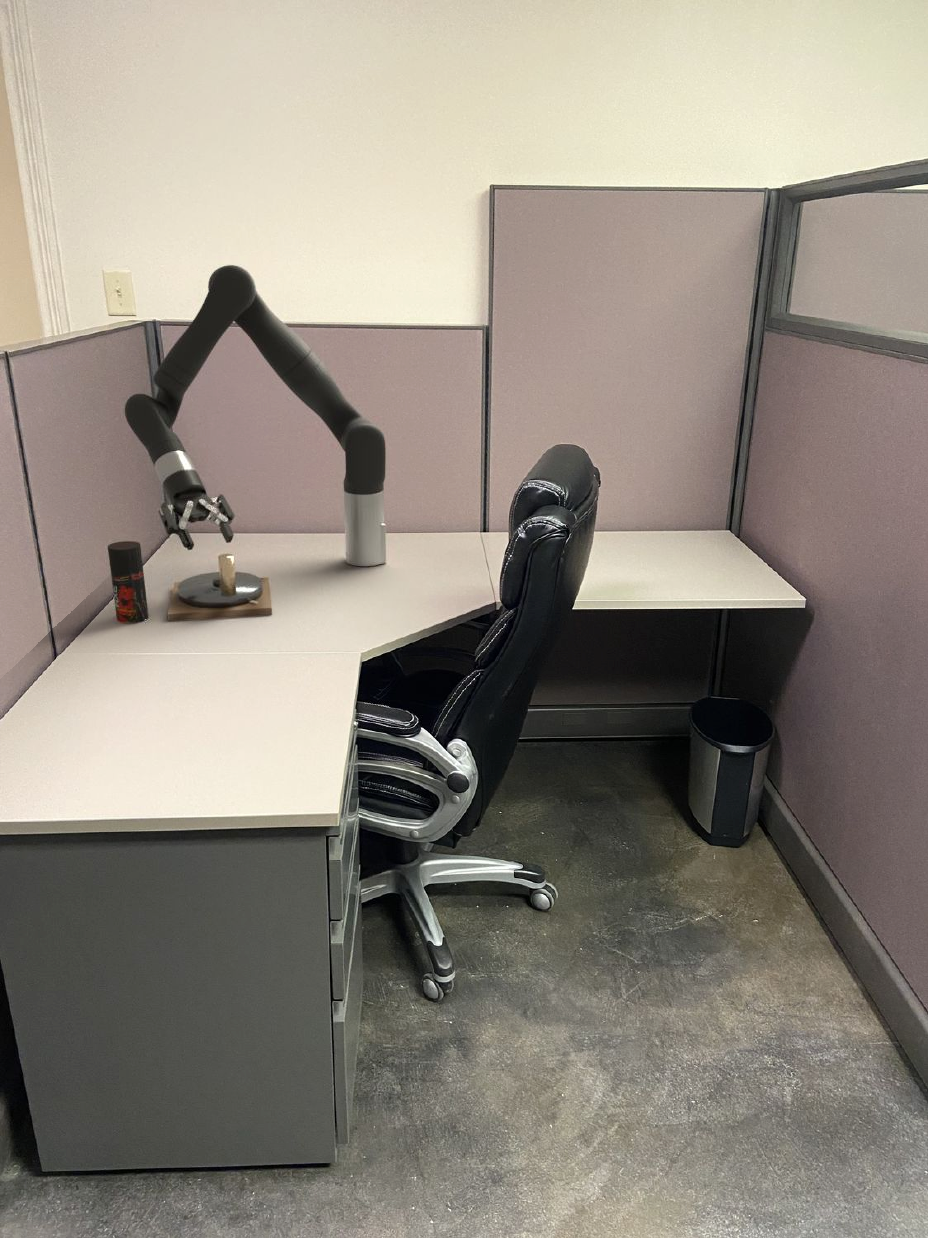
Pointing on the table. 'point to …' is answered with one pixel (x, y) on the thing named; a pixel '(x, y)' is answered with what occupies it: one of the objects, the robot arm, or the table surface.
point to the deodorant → (128, 582)
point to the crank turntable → (220, 586)
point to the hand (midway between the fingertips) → (211, 544)
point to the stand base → (191, 612)
